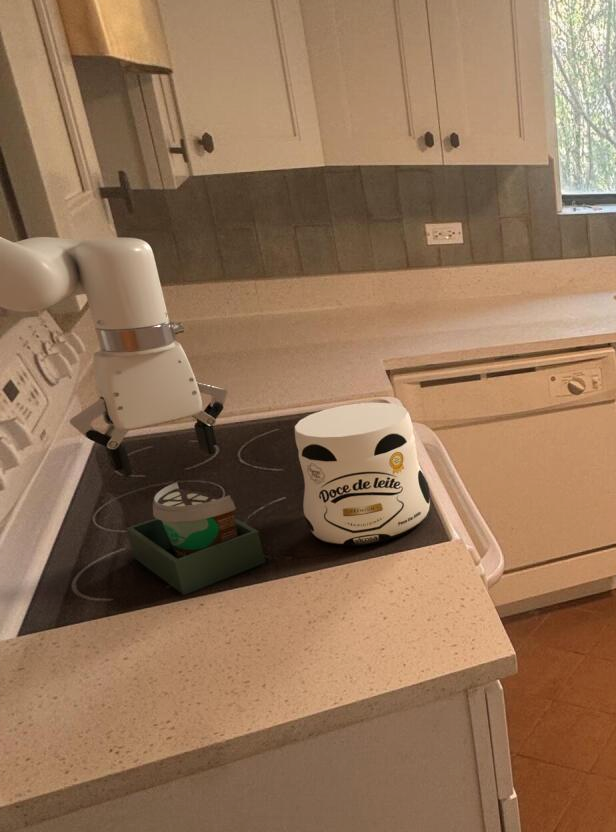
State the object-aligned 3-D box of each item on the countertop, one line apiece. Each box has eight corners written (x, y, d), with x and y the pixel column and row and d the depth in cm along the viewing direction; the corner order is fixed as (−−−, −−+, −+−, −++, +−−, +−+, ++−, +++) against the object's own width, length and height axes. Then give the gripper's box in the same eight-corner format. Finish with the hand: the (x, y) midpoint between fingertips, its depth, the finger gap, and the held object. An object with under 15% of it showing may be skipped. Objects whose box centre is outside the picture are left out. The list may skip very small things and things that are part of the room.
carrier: (136, 562, 111) (125, 528, 109) (215, 534, 119) (206, 501, 117) (185, 598, 102) (174, 561, 100) (266, 565, 110) (258, 530, 108)
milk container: (355, 568, 109) (330, 449, 103) (286, 537, 118) (260, 425, 112) (457, 519, 123) (441, 412, 117) (389, 495, 132) (371, 393, 126)
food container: (147, 563, 110) (127, 499, 106) (191, 543, 115) (174, 481, 112) (206, 580, 105) (187, 514, 102) (249, 559, 111) (232, 495, 107)
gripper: (199, 322, 108) (225, 438, 114) (39, 346, 95) (78, 476, 100) (224, 330, 104) (249, 450, 110) (61, 356, 91) (99, 490, 96)
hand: (167, 462), depth 105 cm, fingers open, 9 cm apart
